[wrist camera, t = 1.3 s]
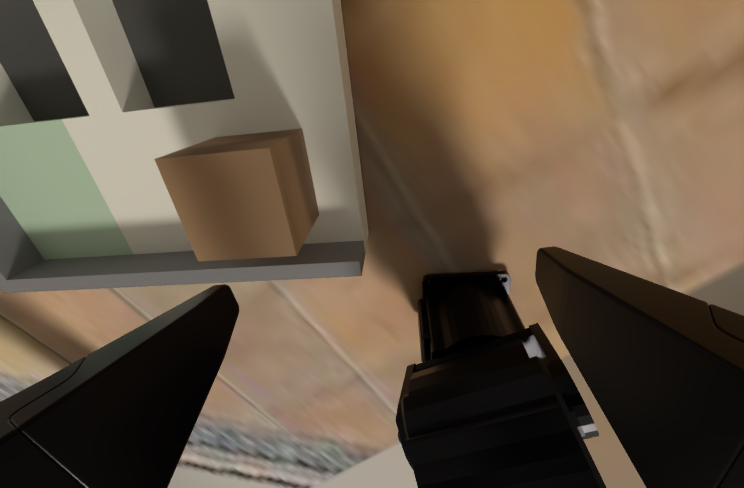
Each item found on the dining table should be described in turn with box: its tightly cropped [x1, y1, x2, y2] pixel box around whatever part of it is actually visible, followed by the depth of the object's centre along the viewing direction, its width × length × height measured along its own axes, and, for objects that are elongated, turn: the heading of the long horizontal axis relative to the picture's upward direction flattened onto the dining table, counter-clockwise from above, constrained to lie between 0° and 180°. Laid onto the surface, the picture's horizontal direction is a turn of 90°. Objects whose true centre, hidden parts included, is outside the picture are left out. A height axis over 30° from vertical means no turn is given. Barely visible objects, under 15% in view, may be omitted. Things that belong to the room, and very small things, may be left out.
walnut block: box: [154, 129, 319, 261], centre depth 16 cm, size 5×5×5 cm
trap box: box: [0, 0, 369, 293], centre depth 18 cm, size 24×18×6 cm
